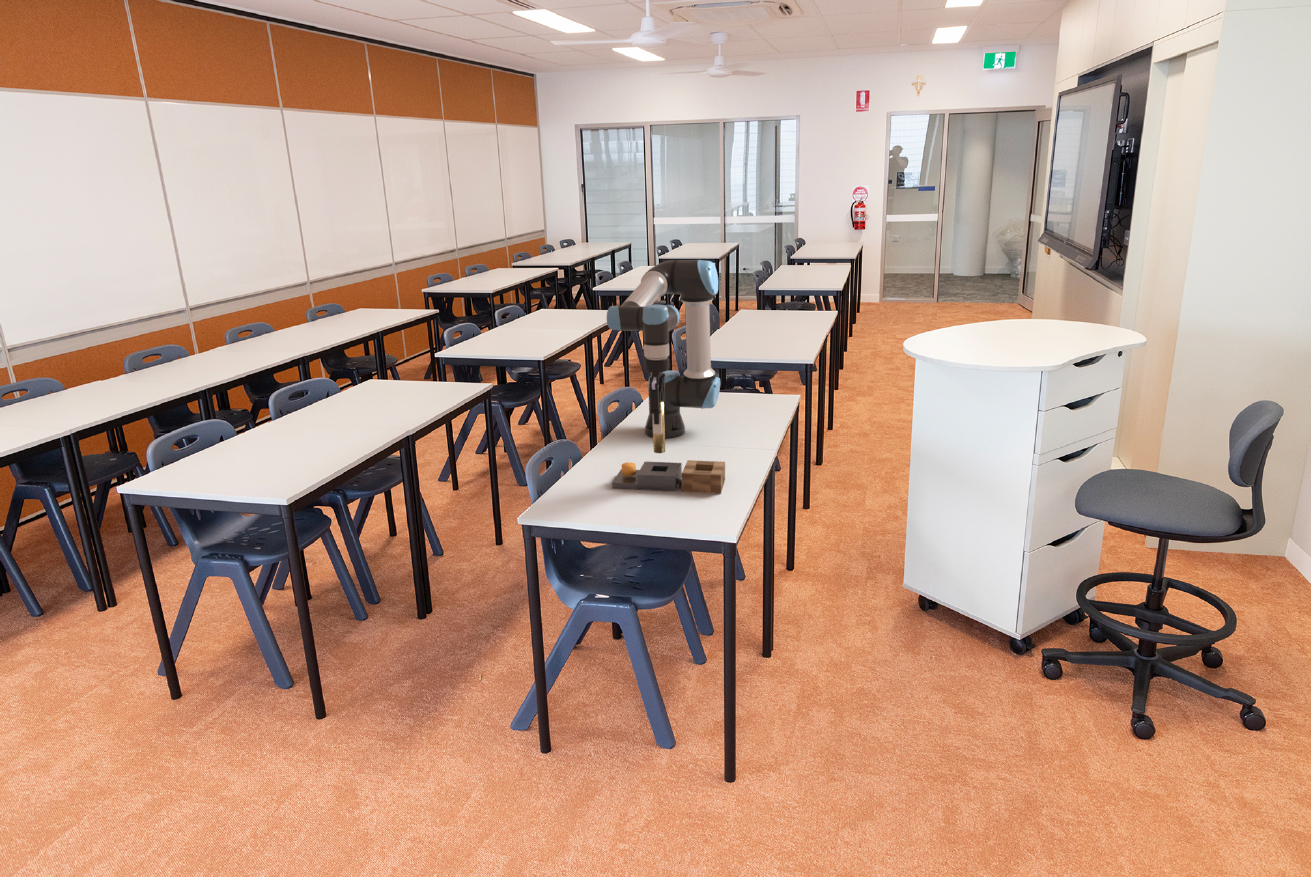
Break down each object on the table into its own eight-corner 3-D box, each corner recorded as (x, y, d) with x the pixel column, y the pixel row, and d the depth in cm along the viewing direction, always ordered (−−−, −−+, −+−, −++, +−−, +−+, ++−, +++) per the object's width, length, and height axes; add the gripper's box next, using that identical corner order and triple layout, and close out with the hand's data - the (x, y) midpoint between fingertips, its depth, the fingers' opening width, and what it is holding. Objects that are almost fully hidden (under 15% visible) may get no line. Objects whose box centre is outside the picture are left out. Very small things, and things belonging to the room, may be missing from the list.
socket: (621, 474, 259) (620, 460, 258) (681, 477, 256) (681, 462, 254) (612, 488, 248) (611, 473, 247) (675, 491, 244) (675, 476, 243)
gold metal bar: (654, 449, 250) (653, 400, 245) (666, 449, 249) (664, 400, 244) (652, 453, 247) (651, 403, 241) (664, 453, 246) (662, 403, 241)
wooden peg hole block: (687, 477, 255) (687, 460, 253) (725, 479, 253) (725, 461, 251) (681, 491, 244) (681, 473, 242) (720, 493, 242) (720, 475, 240)
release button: (623, 471, 254) (623, 462, 254) (637, 471, 254) (636, 462, 253) (620, 475, 250) (620, 466, 249) (634, 476, 250) (633, 467, 249)
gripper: (649, 351, 247) (652, 422, 254) (638, 363, 231) (641, 439, 239) (673, 351, 245) (675, 423, 253) (664, 363, 230) (666, 440, 237)
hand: (658, 431), depth 246 cm, fingers closed on gold metal bar, 3 cm apart
